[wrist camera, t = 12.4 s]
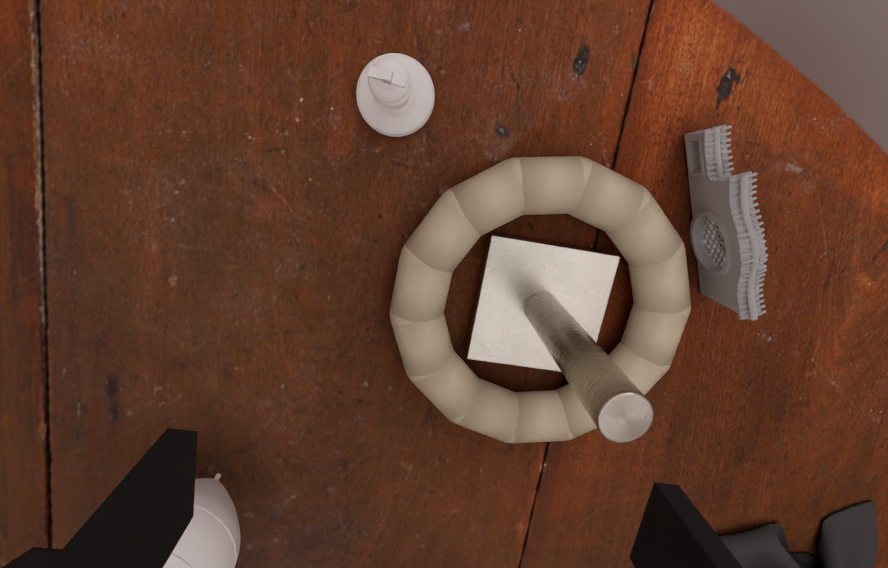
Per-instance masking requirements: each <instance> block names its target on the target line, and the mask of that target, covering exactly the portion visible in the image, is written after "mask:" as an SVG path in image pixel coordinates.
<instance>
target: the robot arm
mask: <svg viewBox="0 0 888 568" xmlns="http://www.w3.org/2000/svg"><path fill="white" fill-rule="evenodd" d="M196 451H197V431H189V430H180V429H171V428H167V430H166V431H165V432H164V433H163V434H162V435H161V436H160V438H159V439H158V440H157V441H156V442H155V443H154V445H153V446H152V447H151V448H150V449H149V450H148V451H147V453H146V454H145V455H144V456H143V457H142V458H141V459H140V461H139V462H138V463H137V464H136V465H135V466H134V468H133V469H132V470H131V471H130V472H129V473H128V474H127V476H126V477H125V478H124V479H123V480H122V481H121V483H120V484H119V485H118V486H117V487H116V488H115V489H114V491H113V492H112V493H111V494H110V495H109V496H108V497H107V499H106V500H105V501H104V502H103V503H102V504H101V506H100V507H99V508H98V509H97V510H96V511H95V512H94V514H93V515H92V516H91V517H90V518H89V519H88V520H87V522H86V523H85V524H84V525H83V526H82V527H81V529H80V530H79V531H78V532H77V533H76V534H75V535H74V537H73V538H72V539H71V540H70V541H69V542H68V543H67V545H66V546H65V547H64V548H63V549H62V550H61V549H50V548H38V547H33V548H32V549H30V550H29V551H27V552H25V553H24V554H22V555H21V556H19V557H18V558H16V559H14V560H13V561H11V562H10V563H8V564H7V565H5V566H4V567H2V568H163V567H164V565H165V563H166V562H167V560H168V558H169V557H170V555H171V553H172V552H173V550H174V548H175V547H176V545H177V543H178V542H179V540H180V538H181V536H182V535H183V533H184V531H185V530H186V528H187V526H188V525H189V523H190V521H191V520H192V518H193V515H194V494H195V472H196ZM630 559H631V561H632V563H633V565H634V567H635V568H743V567H742V566H741V564H740V563H739V562H738V561H737V559H736V558H735V557H734V555H733V554H732V553H731V552H730V550H729V549H728V548H727V547H726V545H725V544H724V543H723V541H722V540H721V539H720V538H719V536H718V535H717V534H716V533H715V531H714V530H713V529H712V527H711V526H710V525H709V524H708V522H707V521H706V520H705V519H704V517H703V516H702V515H701V513H700V512H699V511H698V510H697V508H696V507H695V506H694V505H693V503H692V502H691V501H690V499H689V498H688V497H687V496H686V494H685V493H684V492H683V491H682V489H681V488H680V487H679V486H678V485H672V484H663V483H654V485H653V488H652V491H651V494H650V497H649V500H648V503H647V506H646V509H645V512H644V515H643V518H642V521H641V524H640V527H639V530H638V533H637V536H636V539H635V542H634V545H633V548H632V551H631V554H630Z"/></svg>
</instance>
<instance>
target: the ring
mask: <svg viewBox="0 0 888 568" xmlns="http://www.w3.org/2000/svg"><path fill="white" fill-rule="evenodd" d="M541 214H569V215H571V216H573V217H575V218H578V219H580V220H582V221H584V222H586V223H588V224H590V225H592V226H594V227H596V228H599V229H601V230H603V231H605V232H606V234H607V235H608V236H609V238H610V239H611V240H612V242H613V243H614V244H615V246H616V247H617V249H618V250H619V251H620V253H621V254H622V255H623V257H624V258H625V260H626V261H627V262H628V266H629V273H630V280H631V287H632V294H633V301H634V303H633V306H632V309H631V312H630V315H629V318H628V321H627V324H626V327H625V330H624V333H623V336H622V339H621V342H620V343H619V344H618V345H617V346H616V347H615V348H614V349H613V350H612V351H611V353H610V354H609V355H608V356H609V357H610V358H611V359H612V360H613V362H614V363H615V364H616V365H617V366H618V367H619V368H620V369H621V370H622V371H623V373H624V374H625V375H626V376H627V377H628V378H629V379H630V380H631V381H632V383H633V384H634V385H635V386H636V387H637V388H638V389H639V390H640V391H641V392H642V394H643V395H645V394H646V393H647V392H648V391H649V390H650V389H651V388H652V387H653V386H654V385H655V383H656V382H657V381H658V380H659V379H660V378H661V377H662V376H663V375H664V374H665V373H666V372H667V370H668V369H669V368H670V366H671V363H672V361H673V358H674V355H675V352H676V350H677V347H678V344H679V341H680V339H681V336H682V333H683V330H684V328H685V325H686V322H687V319H688V317H689V314H690V310H691V299H690V289H689V279H688V270H687V260H686V251H685V246H684V243H683V241H682V239H681V237H680V236H679V234H678V233H677V231H676V230H675V228H674V227H673V226H672V224H671V223H670V221H669V220H668V218H667V217H666V215H665V214H664V212H663V211H662V209H661V208H660V206H659V205H658V204H657V202H656V201H655V199H654V198H653V196H652V195H651V193H650V192H649V191H648V190H647V189H646V188H645V187H643V186H642V185H640V184H638V183H636V182H634V181H632V180H630V179H628V178H626V177H624V176H622V175H620V174H618V173H616V172H614V171H612V170H610V169H608V168H606V167H604V166H602V165H600V164H598V163H596V162H594V161H592V160H590V159H588V158H585V157H581V156H559V157H515V158H510V159H507V160H504V161H502V162H500V163H498V164H496V165H494V166H492V167H491V168H489V169H487V170H485V171H483V172H481V173H479V174H477V175H475V176H473V177H471V178H469V179H467V180H465V181H463V182H461V183H459V184H458V185H456V186H454V187H452V188H450V189H448V190H447V191H446V192H444V193H443V194H442V195H441V197H440V198H439V199H438V201H437V202H436V203H435V205H434V206H433V207H432V209H431V210H430V211H429V212H428V214H427V215H426V216H425V218H424V219H423V220H422V222H421V223H420V224H419V226H418V227H417V228H416V230H415V231H414V232H413V234H412V235H411V236H410V238H409V239H408V240H407V242H406V243H405V244H404V246H403V248H402V250H401V254H400V259H399V264H398V269H397V274H396V280H395V285H394V290H393V295H392V301H391V306H390V320H391V324H392V327H393V331H394V334H395V337H396V341H397V344H398V348H399V351H400V354H401V358H402V361H403V364H404V368H405V371H406V374H407V376H408V377H409V379H410V380H411V381H412V382H413V383H414V384H415V385H416V386H417V387H418V389H419V390H420V391H421V392H422V393H423V394H424V395H425V396H426V397H427V398H428V399H429V400H430V401H431V402H432V403H433V404H434V405H435V406H436V407H437V408H438V409H439V410H440V412H441V413H442V414H443V415H444V416H445V417H446V418H447V419H448V420H450V421H451V422H453V423H455V424H457V425H460V426H463V427H465V428H468V429H471V430H473V431H476V432H479V433H481V434H484V435H487V436H489V437H492V438H495V439H497V440H500V441H502V442H506V443H529V442H550V441H567V440H571V439H574V438H576V437H578V436H581V435H583V434H585V433H587V432H589V431H591V430H594V429H596V428H597V426H596V425H595V423H594V422H593V420H592V419H591V417H590V415H589V414H588V412H587V411H586V409H585V408H584V406H583V405H582V403H581V401H580V400H579V398H578V397H577V395H576V394H575V392H574V390H573V389H572V387H571V386H570V384H567V385H565V386H563V387H561V388H558V389H556V390H549V391H525V392H513V391H510V390H508V389H505V388H503V387H500V386H498V385H495V384H493V383H490V382H488V381H485V380H483V379H480V378H478V377H477V376H476V375H475V373H474V372H473V371H472V370H471V369H470V368H469V367H468V366H467V365H466V363H465V362H464V361H463V360H462V359H461V358H460V357H459V356H458V355H457V353H456V352H455V351H454V350H453V347H452V343H451V339H450V335H449V331H448V327H447V324H446V320H445V316H444V309H445V305H446V300H447V296H448V291H449V287H450V282H451V277H452V273H453V271H454V270H455V268H456V267H457V266H458V265H459V263H460V262H461V261H462V259H463V258H464V257H465V256H466V254H467V253H468V252H469V251H470V249H471V248H472V247H473V246H474V244H475V243H476V242H477V240H478V239H479V238H480V237H481V236H482V235H484V234H486V233H488V232H490V231H492V230H494V229H496V228H498V227H500V226H502V225H504V224H506V223H508V222H510V221H512V220H514V219H516V218H518V217H520V216H522V215H541Z"/></svg>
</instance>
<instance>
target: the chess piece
mask: <svg viewBox="0 0 888 568" xmlns="http://www.w3.org/2000/svg"><path fill="white" fill-rule="evenodd" d="M356 99H357V105H358V108H359V111H360V113H361V115H362V117H363V118H364V120H365V121H366V122H367V123H368V125H369V126H371V127H372V128H373V129H374V130H376V131H377V132H379V133H381V134H384V135H387V136H392V137H402V136H406V135H410V134H412V133H414V132H416V131H417V130H419V129H420V128H421V127H422V126H423V125H424V124H425V123H426V122H427V120H428V119H429V117H430V115H431V113H432V110H433V107H434V101H435V92H434V86H433V82H432V80H431V77H430V75H429V74H428V72H427V71H426V69H425V68H424V67H423V66H422V65H421V64H420V63H419V62H418V61H416V60H415V59H413V58H412V57H409V56H407V55H404V54H400V53H388V54H384V55H381V56H378V57H376V58H375V59H373V60H372V61H371V62H369V63H368V64H367V65H366V67H365V68H364V69H363V71H362V73H361V75H360V77H359V79H358V83H357V88H356Z"/></svg>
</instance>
